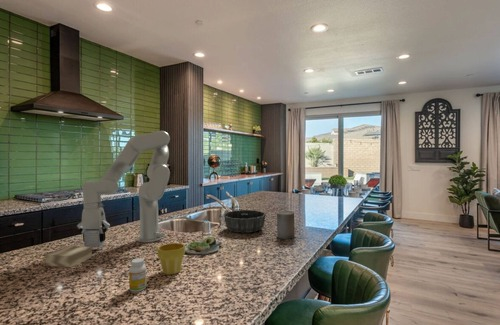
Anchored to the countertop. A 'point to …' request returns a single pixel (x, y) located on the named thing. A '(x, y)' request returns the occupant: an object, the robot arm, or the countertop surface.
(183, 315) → the countertop surface
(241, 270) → the countertop surface
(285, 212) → the pillar candle
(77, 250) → the birch block
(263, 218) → the bundt pan
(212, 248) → the salad plate
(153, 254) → the countertop surface
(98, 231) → the medicine box
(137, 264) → the supplement bottle
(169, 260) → the plant pot
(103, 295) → the countertop surface
